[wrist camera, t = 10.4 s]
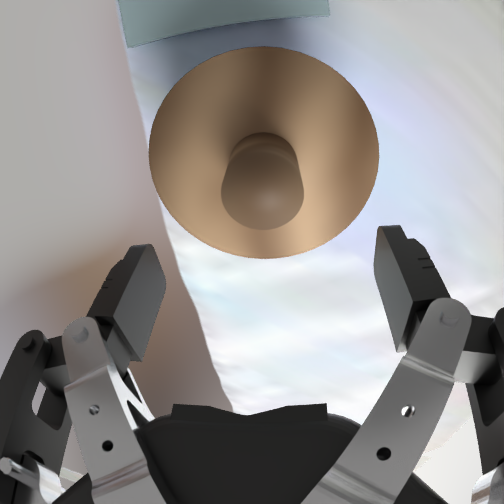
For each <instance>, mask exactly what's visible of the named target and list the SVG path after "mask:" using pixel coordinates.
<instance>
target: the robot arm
mask: <svg viewBox="0 0 504 504" xmlns="http://www.w3.org/2000/svg"><path fill="white" fill-rule="evenodd" d="M374 275H375V280H376V283H377V286H378V289H379V292H380V295H381V299H382V302H383V305H384V309H385V312H386V315H387V319H388V322H389V326H390V330H391V333H392V337H393V340H394V344H395V348H396V352H397V353H398V352H404V351H407V353H406V355H405V357H404V356H403V358H402V359H401V361H400V363H399V364H398V366H397V368H396V370H395V372H394V374H393V375H392V377H391V379H390V381H389V382H388V384H387V386H386V388H385V389H384V391H383V393H382V394H381V396H380V398H379V399H378V401H377V403H376V404H375V406H374V407H373V409H372V411H371V412H370V414H369V415H368V417H367V418H366V420H365V421H364V423H363V424H362V425H360V424H358V423H357V422H355V421H353V420H351V419H348V418H346V417H343V416H339V415H336V414H330V413H327V403H324V404H311V405H294V406H285V407H281V408H277V409H273V410H269V411H265V412H261V413H257V414H253V415H240V414H236V413H233V412H229V411H225V410H221V409H217V408H214V407H211V406H199V405H182V404H173V408H172V413H171V414H168V415H164V416H161V417H158V418H156V419H155V418H154V417H153V416H152V414H151V413H150V411H149V409H148V407H147V405H146V404H145V401H144V399H143V397H142V395H141V393H140V391H139V389H138V387H137V385H136V382H135V380H134V378H133V376H132V373H131V371H130V370H129V368H128V365H129V362H130V361H140V362H141V361H142V360H143V357H144V353H145V350H146V347H147V344H148V341H149V338H150V335H151V332H152V329H153V326H154V323H155V320H156V317H157V314H158V311H159V308H160V305H161V302H162V299H163V297H164V294H165V290H166V279H165V275H164V273H163V270H162V268H161V265H160V262H159V260H158V257H157V255H156V252H155V250H154V247H153V246H152V245H151V244H145V245H134V246H131V247H130V248H129V250H128V252H127V253H126V255H125V257H124V259H123V260H120V261H119V262H118V263H117V264H116V265H115V266H114V267H113V268H112V269H111V270H110V272H109V274H108V276H107V277H106V281H104V283H103V285H102V287H101V289H100V291H99V292H98V294H97V296H96V298H95V300H94V302H93V304H92V306H91V308H90V310H89V312H88V314H87V316H86V317H81V318H79V319H76V320H75V321H73V322H72V323H70V324H69V325H68V326H67V327H66V329H65V330H64V333H63V335H62V336H58V337H55V338H51V339H46V337H45V336H44V334H43V333H42V332H41V331H39V330H31V331H29V332H27V333H26V334H24V335H23V336H22V337H21V338H20V339H19V341H18V342H17V344H16V346H15V349H14V350H13V352H12V354H11V357H10V359H9V361H8V363H7V365H6V367H5V370H4V372H3V374H2V376H1V379H0V504H448V503H447V502H446V501H445V500H443V499H442V498H441V497H440V496H439V495H438V494H437V493H436V492H435V491H433V490H432V489H431V488H430V487H429V486H428V485H427V484H426V483H424V482H423V481H422V480H421V479H420V478H419V477H418V476H416V475H415V474H414V473H413V472H412V471H413V470H414V468H415V466H416V464H417V463H418V461H419V459H420V457H421V455H422V453H423V451H424V449H425V448H426V446H427V444H428V442H429V440H430V438H431V436H432V434H433V432H434V429H435V427H436V425H437V423H438V421H439V419H440V416H441V414H442V412H443V410H444V407H445V405H446V403H447V400H448V398H449V395H450V393H451V391H452V388H453V385H454V382H462V383H465V384H466V388H467V392H468V396H469V400H470V405H471V409H472V414H473V418H474V423H475V428H476V434H477V439H478V445H479V451H480V458H481V465H482V473H483V476H482V477H481V478H480V479H479V480H478V481H477V483H476V484H475V486H474V489H473V492H472V499H471V504H504V307H503V308H501V309H500V310H499V311H498V312H497V314H496V316H495V317H494V318H487V317H480V316H474V315H471V314H470V312H469V310H468V309H467V307H466V306H465V305H464V304H462V303H461V302H459V301H457V300H455V299H452V298H451V297H450V295H449V293H448V291H447V289H446V287H445V285H444V283H443V281H442V279H441V277H440V275H439V273H438V271H437V269H436V268H435V265H434V263H433V261H432V260H431V259H430V256H429V254H428V252H427V250H426V249H425V247H424V246H423V245H422V244H420V243H419V242H418V241H417V240H416V239H414V238H413V239H407V237H406V235H405V233H404V231H403V230H402V228H401V226H400V225H391V226H379V227H378V230H377V237H376V247H375V256H374ZM39 381H40V382H41V383H42V384H43V385H44V386H45V387H46V390H45V393H44V396H43V399H42V402H41V404H40V407H39V410H38V413H37V416H36V415H35V414H34V412H33V410H32V400H33V397H34V395H35V392H36V389H37V386H38V384H39ZM72 424H73V427H74V431H75V434H76V437H77V441H78V444H79V446H80V450H81V453H82V456H83V459H84V462H85V464H86V467H87V470H88V473H87V474H86V475H84V476H83V477H82V478H81V479H80V480H78V481H77V482H76V483H75V484H74V485H73V486H71V487H70V488H69V489H68V490H65V488H64V487H62V486H61V482H60V479H59V474H60V469H61V465H62V461H63V456H64V452H65V448H66V444H67V440H68V437H69V433H70V429H71V426H72Z"/></svg>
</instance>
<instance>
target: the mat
mask: <svg viewBox="0 0 504 504" xmlns="http://www.w3.org/2000/svg"><path fill="white" fill-rule="evenodd" d="M119 6H120V12H121V17H122V23H123V28H124V33H125V38H126V43H127V48H133V47H136V46H139V45H143V44H146V43H149V42H153V41H157V40H160V39H164V38H168V37H172V36H176V35H180V34H184V33H189V32H193V31H198V30H203V29H208V28H213V27H219V26H225V25H231V24H238V23H245V22H252V21H261V20H271V19H282V18H296V17H324V16H330V10H329V3H328V0H119Z"/></svg>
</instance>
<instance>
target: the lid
mask: <svg viewBox="0 0 504 504" xmlns="http://www.w3.org/2000/svg"><path fill="white" fill-rule="evenodd" d="M378 163H379V143H378V138H377V132H376V128H375V125H374V122H373V119H372V116H371V114H370V112H369V110H368V108H367V106H366V104H365V102H364V101H363V99H362V98H361V96H360V95H359V94H358V92H357V91H356V90H355V88H354V87H353V86H352V85H351V84H350V83H349V82H348V81H347V80H346V79H345V78H344V77H343V76H342V75H340V74H339V73H338V72H337V71H335V70H334V69H333V68H331V67H330V66H328V65H327V64H325V63H323V62H321V61H319V60H318V59H316V58H313V57H311V56H308V55H306V54H303V53H301V52H297V51H293V50H289V49H284V48H277V47H265V46H264V47H247V48H242V49H237V50H232V51H229V52H226V53H223V54H220V55H217V56H214V57H212V58H210V59H209V60H207V61H205V62H203V63H201V64H199V65H198V66H196V67H195V68H194V69H192V70H191V71H189V72H188V73H187V74H185V75H184V76H183V77H182V78H181V79H180V80H179V81H178V82H177V83H176V84H175V85H174V86H173V88H172V89H171V90H170V92H169V93H168V94H167V96H166V97H165V99H164V100H163V102H162V104H161V106H160V108H159V109H158V111H157V114H156V117H155V119H154V122H153V125H152V130H151V134H150V140H149V164H150V170H151V175H152V179H153V182H154V185H155V188H156V190H157V193H158V195H159V197H160V199H161V200H162V202H163V204H164V206H165V207H166V208H167V210H168V211H169V213H170V214H171V215H172V217H173V218H174V219H175V220H176V221H177V222H178V223H179V224H180V225H181V226H182V227H183V228H184V229H185V230H186V231H188V232H189V233H190V234H191V235H193V236H194V237H196V238H197V239H199V240H200V241H202V242H204V243H206V244H207V245H209V246H211V247H213V248H216V249H218V250H221V251H223V252H226V253H230V254H233V255H237V256H242V257H248V258H259V259H271V258H282V257H289V256H293V255H297V254H301V253H304V252H307V251H310V250H312V249H315V248H317V247H319V246H321V245H323V244H325V243H326V242H328V241H330V240H331V239H333V238H334V237H336V236H337V235H338V234H340V233H341V232H342V231H343V230H344V229H346V228H347V227H348V226H349V225H350V224H351V223H352V222H353V220H354V219H355V218H356V217H357V216H358V214H359V213H360V212H361V210H362V209H363V207H364V206H365V204H366V202H367V200H368V198H369V197H370V194H371V192H372V189H373V187H374V184H375V180H376V176H377V172H378Z"/></svg>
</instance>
